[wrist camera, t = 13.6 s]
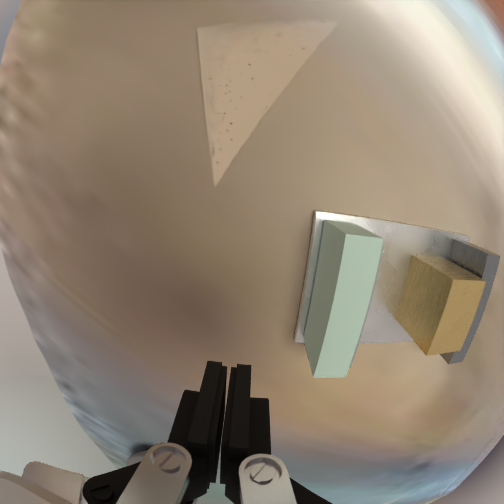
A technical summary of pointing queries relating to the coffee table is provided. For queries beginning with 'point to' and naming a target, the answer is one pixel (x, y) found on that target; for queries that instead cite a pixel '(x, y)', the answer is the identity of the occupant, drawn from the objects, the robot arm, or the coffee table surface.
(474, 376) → the coffee table surface
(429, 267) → the brass block
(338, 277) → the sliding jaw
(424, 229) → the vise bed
